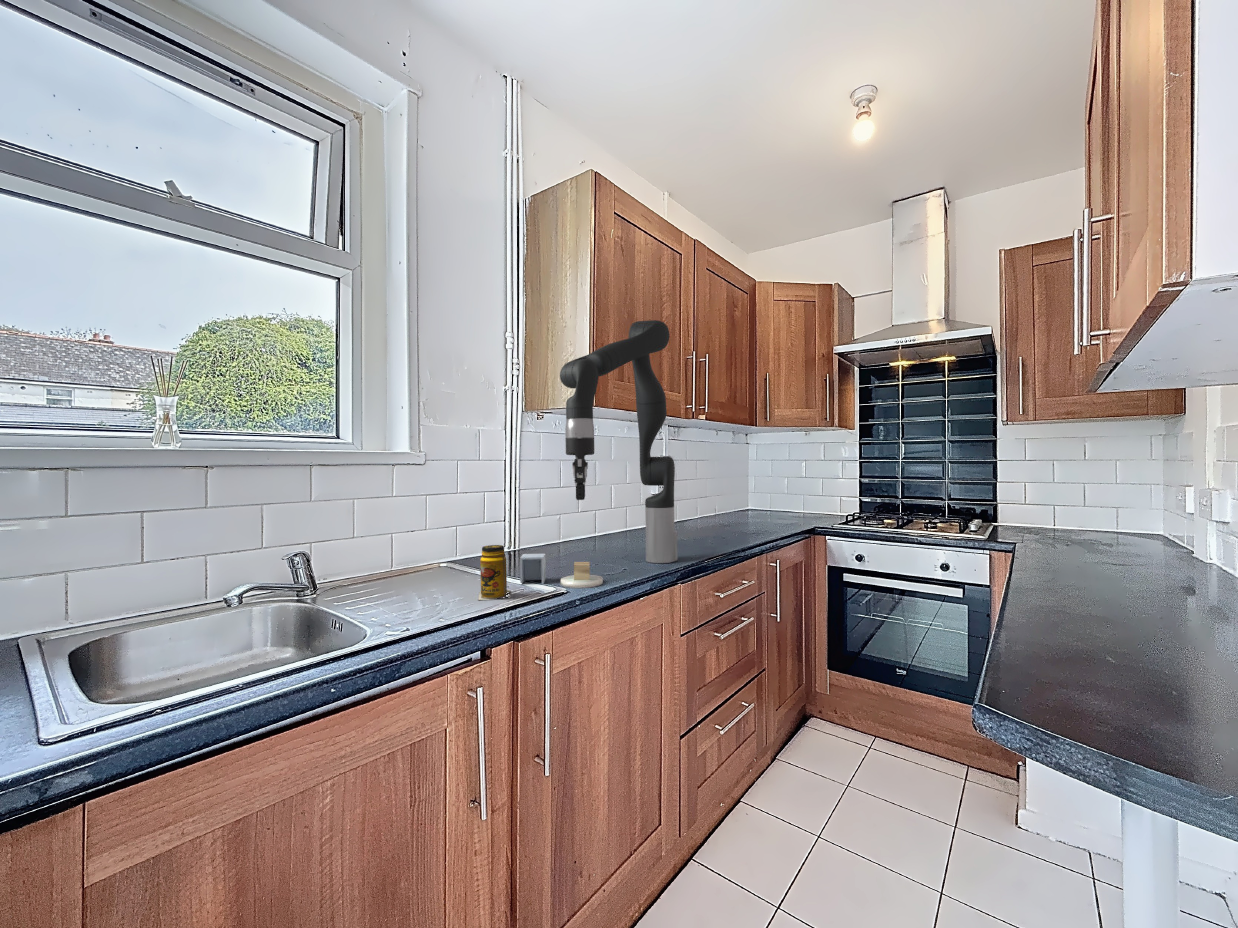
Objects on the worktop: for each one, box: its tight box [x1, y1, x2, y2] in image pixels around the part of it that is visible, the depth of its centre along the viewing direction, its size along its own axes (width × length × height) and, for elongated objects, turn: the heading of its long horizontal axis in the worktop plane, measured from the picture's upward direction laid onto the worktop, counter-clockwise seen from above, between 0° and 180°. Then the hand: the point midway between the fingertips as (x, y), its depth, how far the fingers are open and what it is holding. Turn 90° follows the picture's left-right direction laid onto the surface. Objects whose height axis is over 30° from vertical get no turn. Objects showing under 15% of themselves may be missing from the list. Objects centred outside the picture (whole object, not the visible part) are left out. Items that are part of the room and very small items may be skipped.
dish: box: [560, 574, 604, 589], centre depth 146 cm, size 11×11×1 cm
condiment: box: [478, 544, 511, 601], centre depth 133 cm, size 7×8×12 cm
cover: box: [519, 553, 547, 584], centre depth 148 cm, size 6×6×7 cm
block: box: [573, 561, 591, 580], centre depth 146 cm, size 4×4×4 cm
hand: (580, 498), depth 146 cm, fingers open, 8 cm apart
